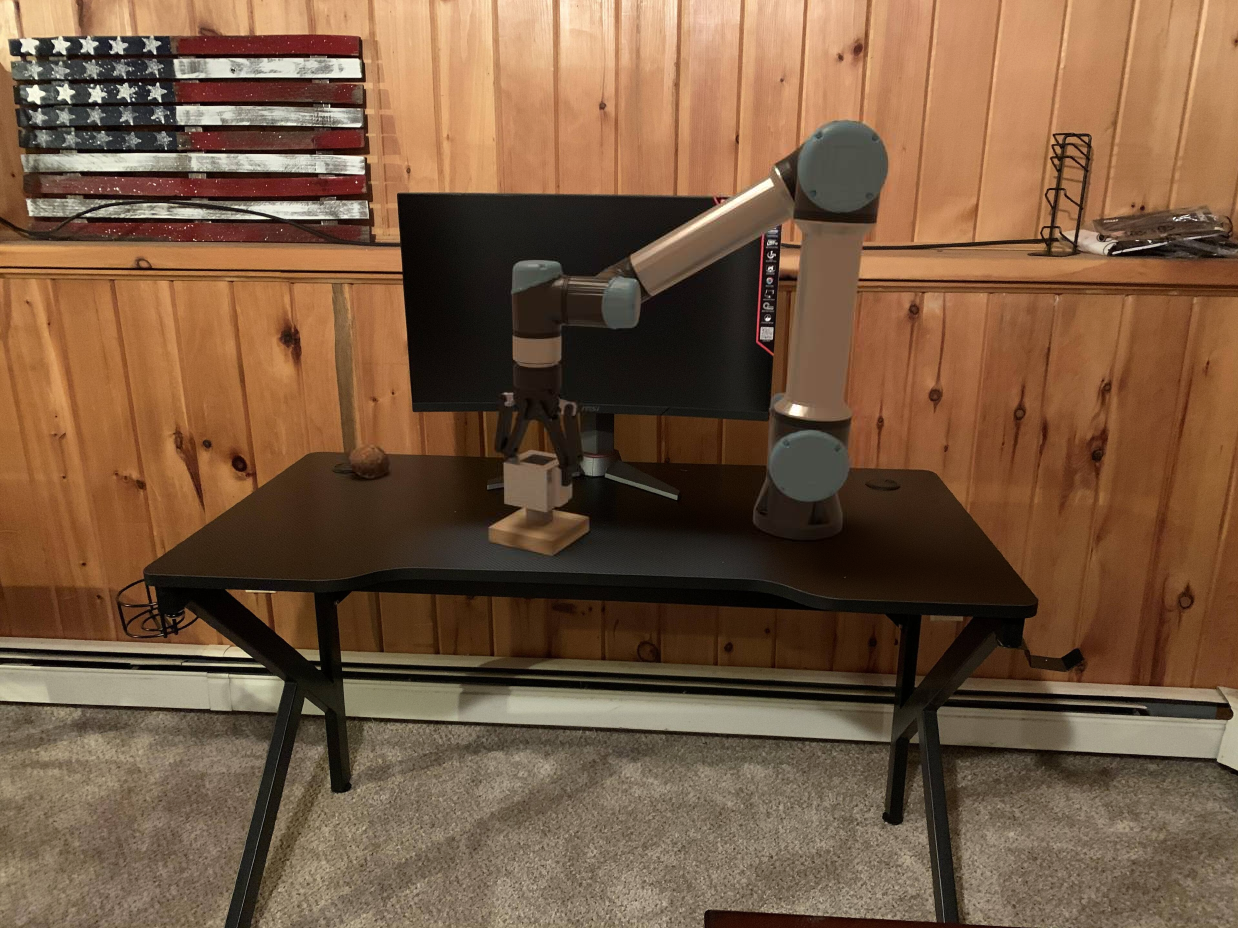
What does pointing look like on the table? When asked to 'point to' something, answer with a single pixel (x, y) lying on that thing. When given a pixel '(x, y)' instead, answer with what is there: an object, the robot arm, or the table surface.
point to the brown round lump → (369, 461)
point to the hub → (531, 481)
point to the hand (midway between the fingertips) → (538, 499)
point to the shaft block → (539, 530)
